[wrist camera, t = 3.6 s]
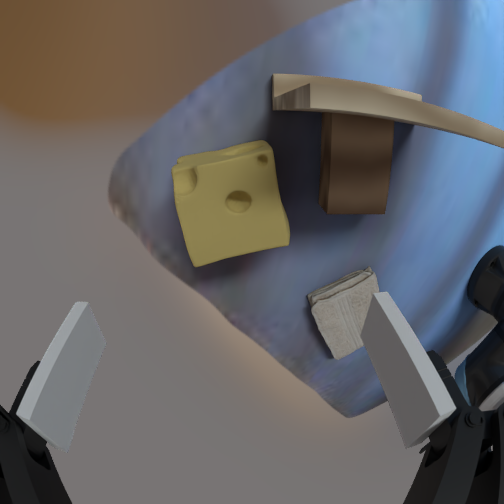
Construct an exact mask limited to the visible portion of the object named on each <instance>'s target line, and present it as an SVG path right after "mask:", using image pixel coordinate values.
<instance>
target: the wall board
mask: <svg viewBox="0 0 504 504" xmlns="http://www.w3.org/2000/svg"><path fill="white" fill-rule="evenodd" d="M272 102H273V110H284V111H310V112H322V127H321V163H320V184H319V202H318V204H319V205H320V206H321V207H322V209H323V210H324V211H325V212H326V214H385V210H386V204H387V197H388V189H389V181H390V172H391V162H392V150H393V136H394V121H397V122H402V123H408V124H413V125H418V126H423V127H428V128H433V129H437V130H442V131H446V132H450V133H454V134H458V135H462V136H466V137H469V138H473V139H476V140H479V141H483V142H486V143H489V144H492V145H495V146H498V147H501V148H504V131H502V130H500V129H498V128H496V127H493V126H491V125H489V124H486V123H484V122H481V121H479V120H476V119H474V118H471V117H468V116H466V115H463V114H460V113H457V112H454V111H451V110H448V109H445V108H442V107H439V106H435V105H432V104H428V103H425V102H422V95H419V94H415V93H412V92H408V91H404V90H400V89H395V88H391V87H386V86H381V85H376V84H371V83H365V82H359V81H353V80H346V79H339V78H330V77H321V76H309V75H294V74H273V75H272Z"/></svg>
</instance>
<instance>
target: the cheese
mask: <svg viewBox="0 0 504 504" xmlns="http://www.w3.org/2000/svg"><path fill="white" fill-rule="evenodd" d="M171 173H172V178H173V183H174V198H175V205H176V210H177V213H178V217H179V221H180V224H181V228H182V231H183V235H184V239H185V243H186V247H187V250H188V253H189V256H190V259H191V261H192V263H193V265H194V267H200V266H203V265H206V264H210V263H213V262H216V261H219V260H222V259H225V258H230V257H234V256H239V255H243V254H248V253H252V252H257V251H262V250H266V249H272V248H277V247H283V246H288V245H289V241H290V227H289V222H288V218H287V215H286V212H285V209H284V207H283V205H282V202H281V198H280V193H279V188H278V182H277V175H276V168H275V161H274V154H273V150H272V148H271V146H270V145H269V144H268V143H267V142H266V141H264V140H257V141H253V142H248V143H244V144H239V145H235V146H231V147H228V148H225V149H222V150H218V151H208V152H203V153H198V154H192V155H187V156H182V157H180V158H178V160H177V165H174V166H173V167H172V172H171Z"/></svg>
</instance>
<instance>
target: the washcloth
mask: <svg viewBox="0 0 504 504" xmlns="http://www.w3.org/2000/svg"><path fill="white" fill-rule="evenodd" d="M373 293H380V291H379V287H378V282H377V278H376V275H375V273H374V272H373V271H372V270H371V268H370V266H368V268H367V269H366V270H360V271H355V272H353V273H351V274H349V275H346V276H344V277H343V278H341V279H339V280H337V281H335V282H333V283H331V284H328V285H326V286H324V287H322V288H319V289H317V290H315V291H313V292H311V293H310V294H308V300H309V302H310V305H311V312H312V315H313V317H314V318H315V321H316V323H317V326H318V329H319V331H320V333H321V334H322V336H323V338H324V340H325V342H326V344H327V345H328V347H329V348H330V350H331V352H332V354H333V356H334V358H335V359H336V360H338V359H341V358H342V357H344V356H346V355H348V354H351V353H352V352H354V351H355V350H357V349H359V348H360V347H363V346H364V343H363V341H362V339H361V337H360V335H361V332H362V329H363V326H364V322H365V319H366V316H367V313H368V309H369V306H370V302H371V299H372V295H373Z"/></svg>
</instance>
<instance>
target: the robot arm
mask: <svg viewBox="0 0 504 504" xmlns="http://www.w3.org/2000/svg"><path fill="white" fill-rule="evenodd" d="M467 295H468V299H469V300H470V302H471V303H472V304H473V305H474V306H475V307H477V308H479V309H481V310H483V311H484V312H486V313H488V314H490V315H492V316H493V317H494V318H495V319H496V320H497V321H498V324H497V325H496V326H495V327H494V328H493V329H492V331H491V332H490V333H489V334H488V335H487V336H486V338H485V339H484V340H483V341H482V342H481V343H480V344H479V345H478V346H477V348H475V350H474V351H473V352H472V353H471V354H469V355H468V356H467V357H466V358H465V360H464V361H463V362H462V363H461V364H460V365H459V366H458V368H457V370H456V373H455V380H454V378H453V377H452V376H451V373H450V371H449V370H448V369H447V366H446V364H445V363H444V361H443V359H442V358H441V357H440V356H439V355H438V354H437V353H435V352H434V351H433V350H432V351H428V352H425V350H424V348H423V347H422V345H421V343H420V342H419V340H418V338H417V337H416V335H415V334H414V332H413V330H412V329H411V327H410V326H409V324H408V322H407V321H406V319H405V318H404V316H403V315H402V313H401V312H400V310H399V309H398V307H397V306H396V304H395V303H394V301H393V300H392V298H391V297H390V295H389V294H388V292H380V293H373V295H372V299H371V302H370V306H369V309H368V313H367V316H366V319H365V322H364V326H363V329H362V332H361V335H360V337H361V339H362V341H363V343H364V346H365V348H366V350H367V352H368V355H369V357H370V359H371V362H372V364H373V366H374V368H375V371H376V373H377V376H378V378H379V380H380V383H381V385H382V388H383V390H384V392H385V395H386V397H387V400H388V402H389V405H390V407H391V410H392V413H393V415H394V418H395V420H396V423H397V426H398V428H399V431H400V434H401V437H402V439H403V442H404V445H405V448H406V449H407V448H409V447H412V446H415V445H417V444H420V443H422V442H423V441H424V440H425V439H426V438H427V437H429V439H430V442H429V443H428V444H427V445H425V446H424V447H423V448H422V449H421V450H420V452H419V453H420V454H421V453H422V452H424V451H425V450H426V451H425V454H424V457H423V459H422V462H421V465H420V467H419V470H418V472H417V474H416V477H415V479H414V481H413V484H412V486H411V488H410V491H409V492H408V495H407V497H406V499H405V501H404V503H403V504H504V246H496V247H494V248H492V249H491V250H490V251H489V252H488V253H487V254H486V255H485V256H484V257H483V258H482V259H481V261H480V262H479V263H478V265H477V267H476V268H475V270H474V272H473V274H472V276H471V279H470V282H469V285H468V290H467ZM106 344H107V343H106V341H105V339H104V337H103V334H102V333H101V330H100V328H99V326H98V324H97V322H96V319H95V317H94V315H93V312H92V310H91V308H90V305H89V303H88V302H76V303H75V304H74V306H73V307H72V309H71V311H70V312H69V314H68V315H67V317H66V319H65V320H64V322H63V324H62V325H61V327H60V329H59V330H58V332H57V334H56V335H55V337H54V339H53V340H52V342H51V344H50V346H49V347H48V350H47V351H46V353H45V355H44V357H43V358H42V360H41V361H37V362H36V363H35V364H34V365H33V366H32V367H31V368H30V370H29V372H28V374H27V376H26V379H25V380H24V382H23V384H22V385H23V386H21V388H20V390H19V392H18V394H17V396H16V399H15V401H14V403H13V405H12V408H11V410H10V412H9V413H8V412H7V411H6V410H5V409H4V408H3V407H2V406H1V405H0V504H72V502H71V500H70V498H69V496H68V494H67V492H66V490H65V488H64V486H63V484H62V482H61V479H60V477H59V474H58V472H57V470H56V467H55V465H54V462H53V460H52V457H51V454H50V452H49V450H48V448H47V447H46V443H47V442H48V443H49V444H51V445H52V446H53V447H54V448H56V449H59V450H62V451H65V452H67V453H68V451H69V447H70V444H71V440H72V437H73V434H74V430H75V427H76V424H77V421H78V418H79V415H80V412H81V409H82V406H83V403H84V400H85V397H86V395H87V392H88V389H89V386H90V383H91V381H92V378H93V376H94V373H95V371H96V368H97V365H98V363H99V361H100V358H101V356H102V353H103V351H104V348H105V346H106ZM492 445H493V451H491V446H492Z"/></svg>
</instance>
